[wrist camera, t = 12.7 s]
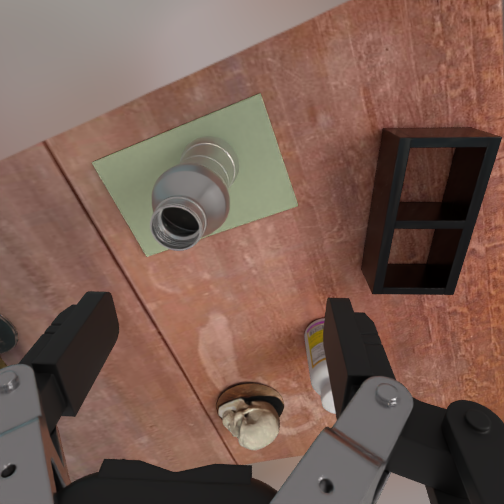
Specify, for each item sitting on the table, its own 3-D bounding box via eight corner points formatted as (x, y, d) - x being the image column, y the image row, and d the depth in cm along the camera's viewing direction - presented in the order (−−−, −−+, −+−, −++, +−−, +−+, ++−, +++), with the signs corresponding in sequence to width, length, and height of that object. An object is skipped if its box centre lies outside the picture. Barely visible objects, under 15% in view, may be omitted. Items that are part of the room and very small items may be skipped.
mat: (260, 92, 39) (260, 93, 39) (298, 204, 45) (298, 206, 45) (93, 161, 44) (91, 162, 43) (147, 255, 50) (146, 257, 49)
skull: (216, 434, 66) (208, 450, 56) (221, 376, 69) (214, 381, 59) (280, 439, 66) (284, 457, 56) (283, 380, 68) (287, 387, 58)
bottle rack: (382, 127, 41) (400, 137, 35) (471, 127, 40) (502, 136, 35) (360, 269, 50) (372, 294, 44) (433, 270, 49) (453, 294, 44)
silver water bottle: (182, 131, 41) (119, 183, 23) (240, 132, 41) (221, 184, 23) (187, 185, 44) (134, 267, 26) (241, 186, 44) (224, 269, 26)
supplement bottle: (339, 351, 57) (357, 423, 46) (299, 345, 57) (307, 415, 45) (352, 319, 54) (375, 388, 42) (310, 312, 53) (322, 379, 42)
